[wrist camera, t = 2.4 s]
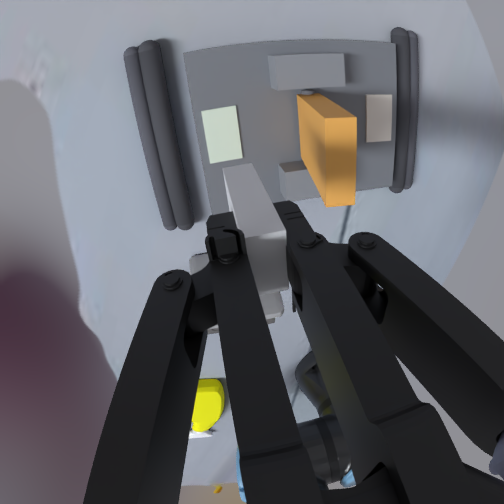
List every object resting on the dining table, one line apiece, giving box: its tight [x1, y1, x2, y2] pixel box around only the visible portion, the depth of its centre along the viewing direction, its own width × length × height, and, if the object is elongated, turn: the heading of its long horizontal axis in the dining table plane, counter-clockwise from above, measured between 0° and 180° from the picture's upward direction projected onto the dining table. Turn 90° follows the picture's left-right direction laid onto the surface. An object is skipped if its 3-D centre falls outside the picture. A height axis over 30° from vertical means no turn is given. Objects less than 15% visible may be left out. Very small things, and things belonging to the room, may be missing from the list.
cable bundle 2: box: [389, 27, 418, 193], centre depth 31 cm, size 20×3×2 cm, turn 7°
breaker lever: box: [297, 89, 357, 207], centre depth 23 cm, size 7×2×11 cm, turn 7°
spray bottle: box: [189, 379, 224, 438], centre depth 58 cm, size 3×11×24 cm
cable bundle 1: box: [124, 40, 194, 230], centre depth 29 cm, size 20×3×2 cm, turn 7°
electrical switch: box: [189, 253, 284, 334], centre depth 36 cm, size 9×5×9 cm, turn 95°
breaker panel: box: [183, 40, 397, 215], centre depth 28 cm, size 16×20×5 cm
